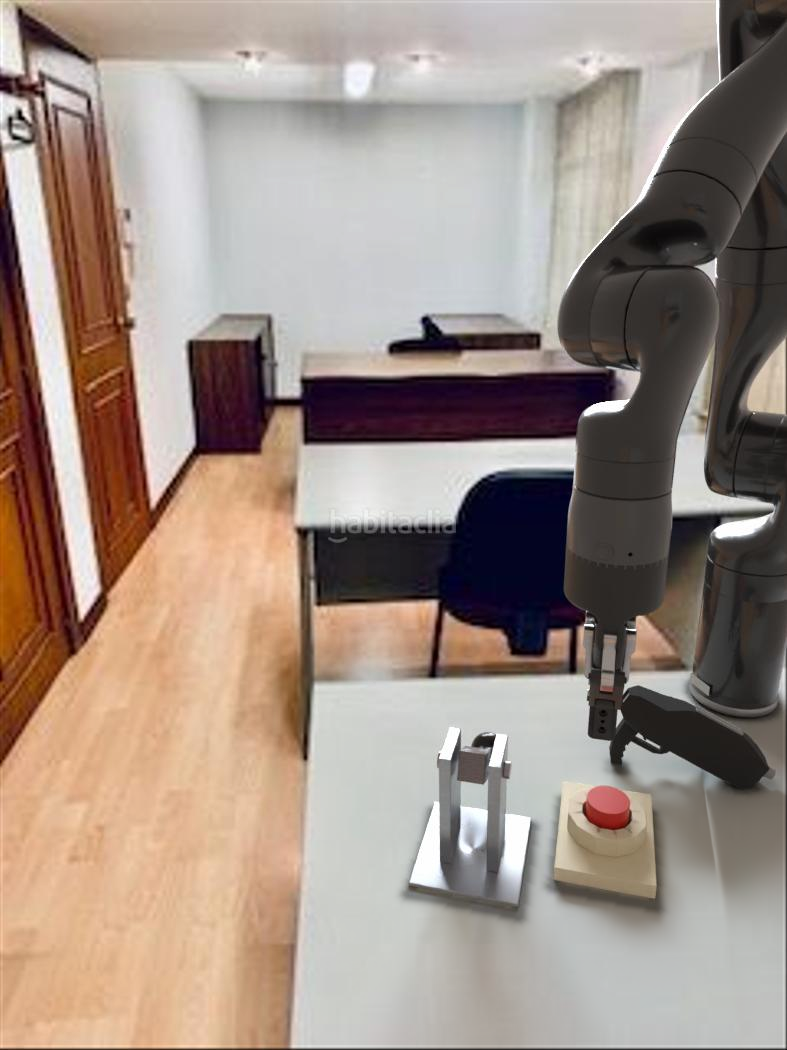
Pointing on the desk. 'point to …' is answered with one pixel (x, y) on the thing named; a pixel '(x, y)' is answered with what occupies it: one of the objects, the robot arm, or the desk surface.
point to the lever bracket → (473, 834)
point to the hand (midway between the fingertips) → (601, 734)
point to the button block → (606, 846)
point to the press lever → (476, 759)
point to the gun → (689, 737)
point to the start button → (607, 807)
